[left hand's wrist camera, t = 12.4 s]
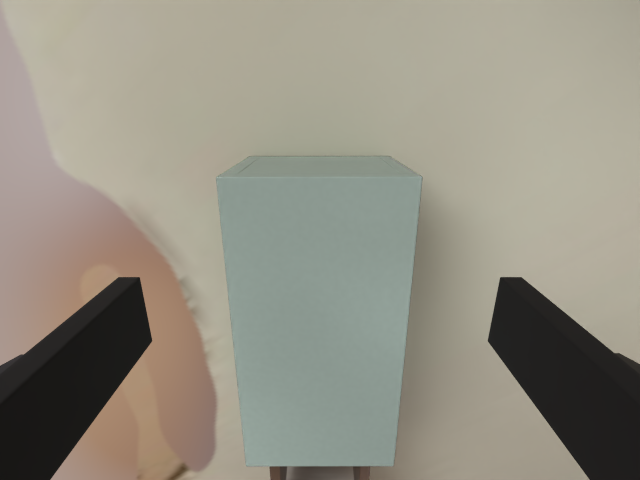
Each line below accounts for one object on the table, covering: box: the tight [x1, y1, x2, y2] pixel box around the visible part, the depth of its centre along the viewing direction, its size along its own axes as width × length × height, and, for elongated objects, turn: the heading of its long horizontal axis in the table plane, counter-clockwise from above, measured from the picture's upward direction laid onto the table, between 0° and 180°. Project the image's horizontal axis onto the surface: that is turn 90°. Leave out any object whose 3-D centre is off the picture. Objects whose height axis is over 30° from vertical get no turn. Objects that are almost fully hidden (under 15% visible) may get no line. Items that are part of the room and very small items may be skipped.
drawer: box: [270, 466, 370, 480], centre depth 30 cm, size 25×9×7 cm, turn 0°
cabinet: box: [216, 156, 422, 466], centre depth 25 cm, size 21×11×9 cm, turn 0°
